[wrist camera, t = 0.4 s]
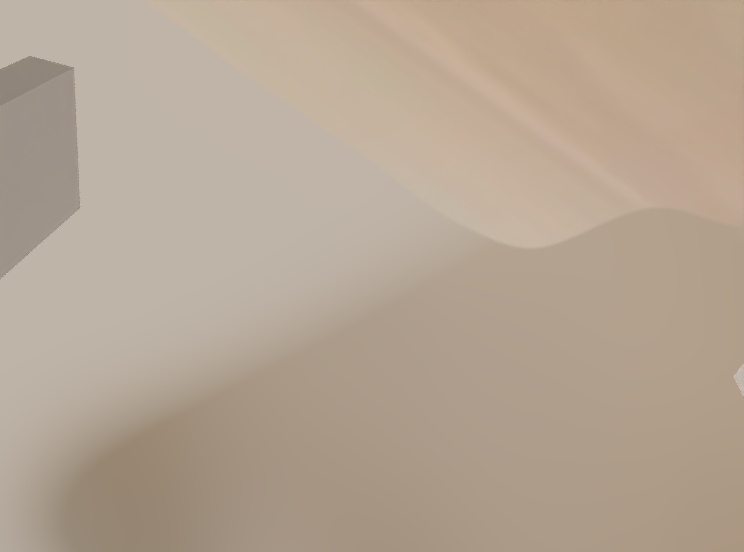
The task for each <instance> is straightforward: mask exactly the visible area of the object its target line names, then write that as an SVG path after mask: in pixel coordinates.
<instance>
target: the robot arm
mask: <svg viewBox="0 0 744 552" xmlns="http://www.w3.org/2000/svg"><path fill="white" fill-rule="evenodd" d="M75 107H76V106H75V83H74V68H73V67H69V66H66V65H62V64H58V63H54V62H50V61H47V60H43V59H39V58H35V57H31V56H29V57H27V58H25V59H22V60H20V61H18V62H16V63H13V64H11V65H9V66H7V67H4V68H2V69H0V279H1V278H2V277H3V276H4V275H5V274H6V273H7V272H8V271H9V270H11V269H12V268H13V267H14V266H15V265H16V264H18V263H19V262H20V261H21V260H22V259H23V258H24V257H25V256H26V255H28V254H29V253H30V252H31V251H32V250H33V249H34V248H36V247H37V246H38V245H39V244H40V243H41V242H42V241H43V240H44V239H46V238H47V237H48V236H49V235H50V234H51V233H52V232H54V231H55V230H56V229H57V228H58V227H59V226H60V225H61V224H62V223H64V222H65V221H66V220H67V219H68V218H69V217H70V216H72V215H73V214H74V213H75V212H76V211H77V210H78V209H79V208H80V197H79V174H78V151H77V130H76V108H75ZM734 379H735V381H736V383H737V385H738V387H739V389H740V391H741V393H742V395H743V397H744V363H743V365H742V366H741V367H740V369H739V370H738V372H737V373H736V374H735V376H734Z"/></svg>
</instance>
